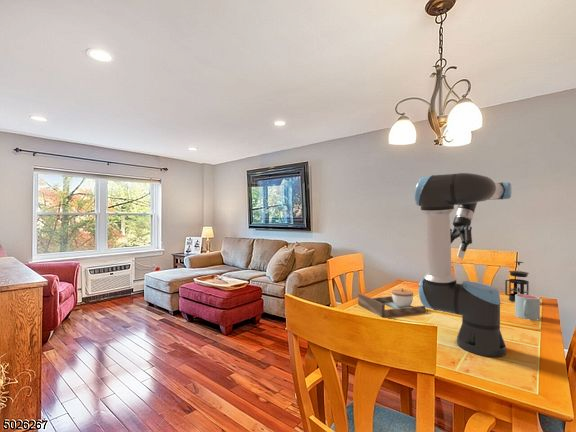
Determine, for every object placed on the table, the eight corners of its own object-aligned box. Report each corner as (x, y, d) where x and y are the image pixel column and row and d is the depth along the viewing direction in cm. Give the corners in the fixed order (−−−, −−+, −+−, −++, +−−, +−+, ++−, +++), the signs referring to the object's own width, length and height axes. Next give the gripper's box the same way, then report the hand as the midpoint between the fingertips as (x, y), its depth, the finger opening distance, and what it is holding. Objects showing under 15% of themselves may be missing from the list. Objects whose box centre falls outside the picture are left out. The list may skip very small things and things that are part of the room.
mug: (516, 312, 148) (516, 293, 149) (540, 317, 142) (540, 296, 142) (512, 319, 139) (512, 298, 139) (537, 324, 132) (537, 302, 132)
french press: (526, 299, 173) (526, 261, 173) (533, 304, 164) (533, 263, 164) (502, 297, 176) (502, 259, 176) (508, 302, 167) (509, 262, 167)
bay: (397, 300, 168) (397, 290, 168) (425, 312, 148) (425, 300, 148) (358, 304, 160) (358, 293, 160) (381, 317, 140) (382, 304, 140)
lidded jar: (415, 310, 150) (415, 291, 150) (393, 308, 152) (393, 290, 152) (410, 304, 160) (410, 287, 161) (390, 302, 163) (390, 285, 163)
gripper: (488, 217, 134) (476, 260, 129) (453, 226, 158) (442, 262, 154) (473, 211, 134) (460, 253, 129) (441, 220, 158) (429, 256, 154)
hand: (450, 258), depth 142 cm, fingers open, 13 cm apart
